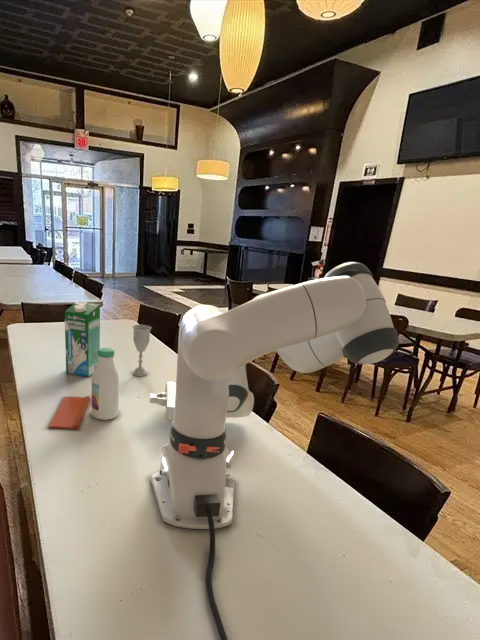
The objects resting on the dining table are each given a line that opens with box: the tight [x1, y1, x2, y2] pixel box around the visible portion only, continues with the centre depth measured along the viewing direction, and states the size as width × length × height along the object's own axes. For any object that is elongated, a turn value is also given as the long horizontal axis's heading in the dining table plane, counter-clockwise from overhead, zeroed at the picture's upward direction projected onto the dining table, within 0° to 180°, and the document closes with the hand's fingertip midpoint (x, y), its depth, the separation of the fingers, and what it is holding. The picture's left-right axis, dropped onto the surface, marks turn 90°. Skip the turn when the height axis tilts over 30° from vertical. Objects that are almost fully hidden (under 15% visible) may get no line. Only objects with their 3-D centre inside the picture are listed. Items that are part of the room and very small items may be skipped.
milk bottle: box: [91, 347, 120, 421], centre depth 118 cm, size 8×8×20 cm
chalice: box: [132, 324, 152, 377], centre depth 152 cm, size 7×7×18 cm
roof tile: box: [48, 395, 91, 430], centre depth 121 cm, size 20×8×1 cm, turn 2°
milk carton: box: [64, 300, 101, 378], centre depth 149 cm, size 9×9×25 cm
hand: (150, 398), depth 120 cm, fingers closed
